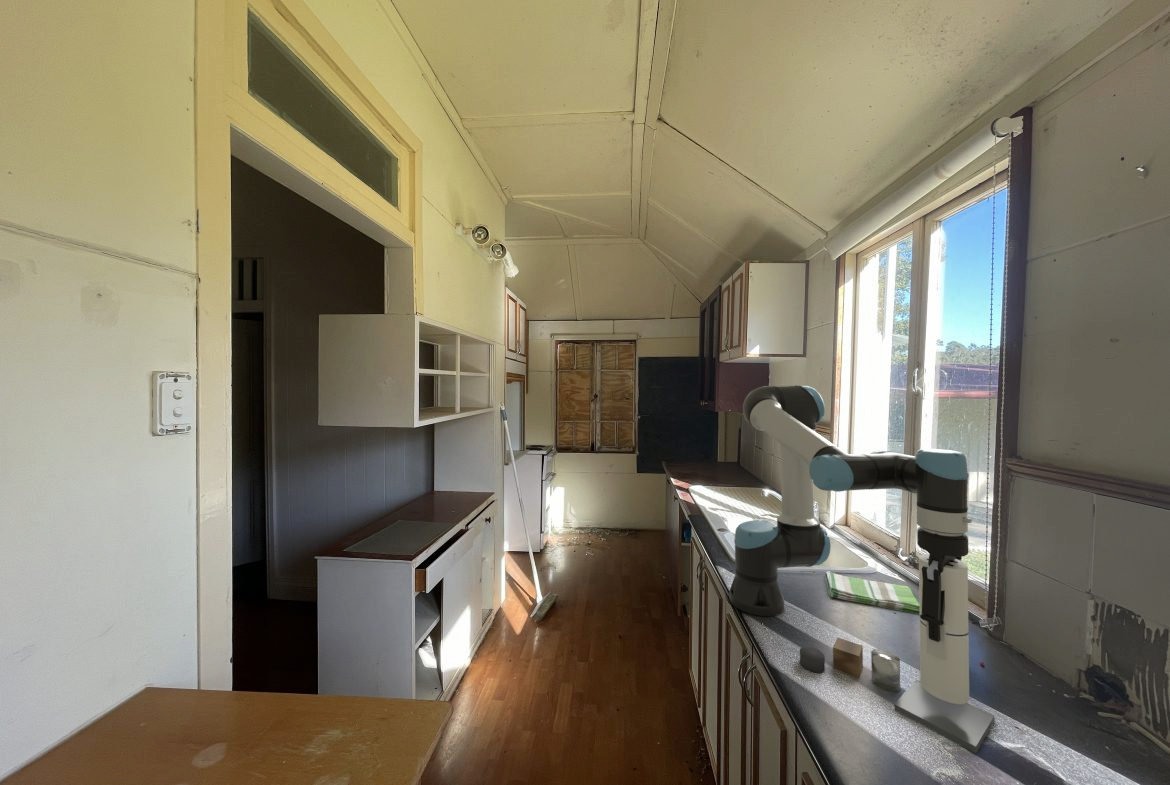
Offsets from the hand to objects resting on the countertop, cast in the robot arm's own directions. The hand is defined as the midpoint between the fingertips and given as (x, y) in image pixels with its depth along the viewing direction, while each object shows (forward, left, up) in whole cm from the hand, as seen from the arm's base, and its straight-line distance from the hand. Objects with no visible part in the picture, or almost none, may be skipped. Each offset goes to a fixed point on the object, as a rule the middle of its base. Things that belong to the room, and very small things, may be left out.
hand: (943, 648), depth 80 cm
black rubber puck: (-22, -6, -13) cm, 26 cm away
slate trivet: (0, 0, -13) cm, 13 cm away
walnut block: (-17, 0, -13) cm, 22 cm away
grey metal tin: (-10, +1, -13) cm, 17 cm away
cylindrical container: (0, 0, -8) cm, 8 cm away
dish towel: (-29, +43, -14) cm, 54 cm away
